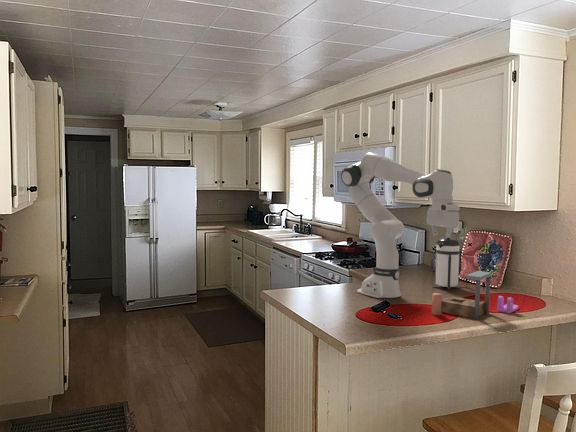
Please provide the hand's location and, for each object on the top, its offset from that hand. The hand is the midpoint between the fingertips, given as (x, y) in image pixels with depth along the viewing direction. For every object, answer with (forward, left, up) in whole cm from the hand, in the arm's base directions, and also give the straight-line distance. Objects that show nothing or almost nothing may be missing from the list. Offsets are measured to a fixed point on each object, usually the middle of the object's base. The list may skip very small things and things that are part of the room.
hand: (441, 236), depth 227 cm
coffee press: (-18, +51, -34) cm, 64 cm away
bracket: (+23, +25, -34) cm, 48 cm away
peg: (+2, -6, -34) cm, 35 cm away
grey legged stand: (+16, +5, -34) cm, 38 cm away
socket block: (+9, +5, -34) cm, 35 cm away
